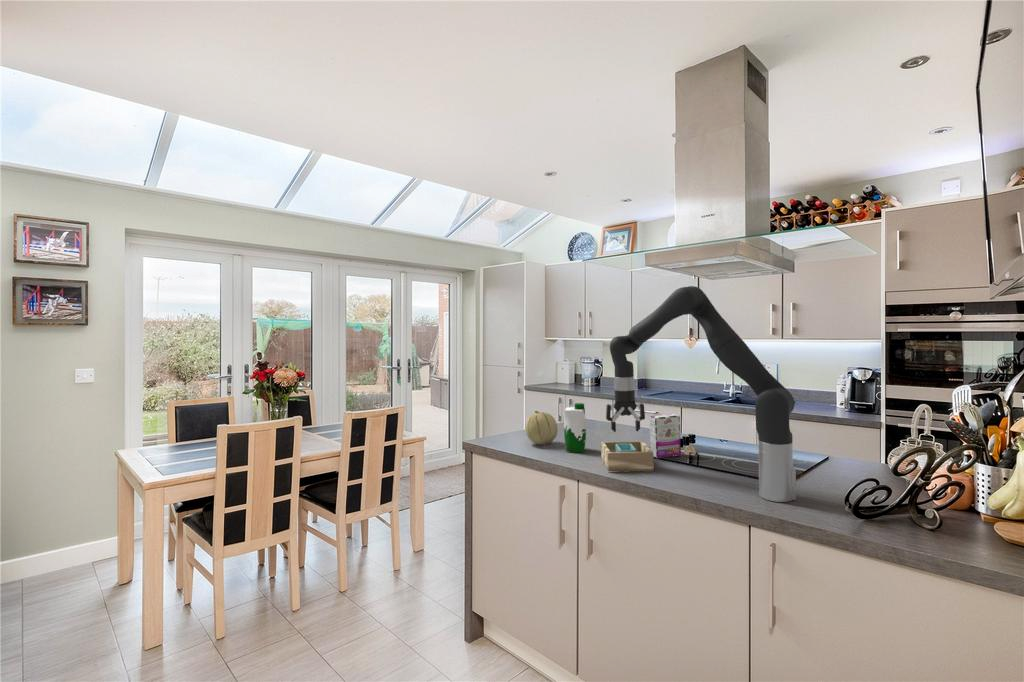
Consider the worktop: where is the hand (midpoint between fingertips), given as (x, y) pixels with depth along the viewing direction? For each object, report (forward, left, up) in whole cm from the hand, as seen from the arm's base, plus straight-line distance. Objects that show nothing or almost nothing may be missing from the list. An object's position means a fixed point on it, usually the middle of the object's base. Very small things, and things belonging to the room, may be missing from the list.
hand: (625, 431), depth 196 cm
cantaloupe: (+31, -36, -13) cm, 49 cm away
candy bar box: (-18, -12, -13) cm, 25 cm away
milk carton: (+17, -24, -13) cm, 32 cm away
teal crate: (0, 0, -12) cm, 12 cm away
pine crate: (0, 0, -13) cm, 13 cm away
